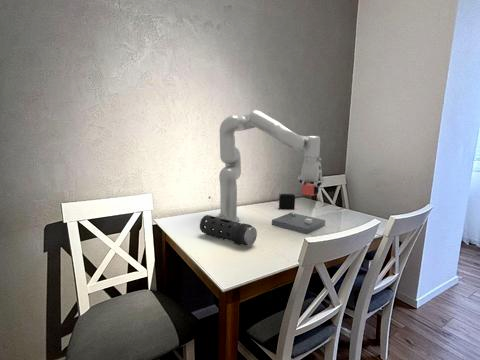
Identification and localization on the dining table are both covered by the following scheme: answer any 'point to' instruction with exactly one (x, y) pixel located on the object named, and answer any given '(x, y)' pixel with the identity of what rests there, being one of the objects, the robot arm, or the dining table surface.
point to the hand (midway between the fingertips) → (310, 192)
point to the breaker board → (298, 223)
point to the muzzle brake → (228, 230)
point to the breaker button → (308, 220)
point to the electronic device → (287, 201)
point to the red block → (308, 189)
